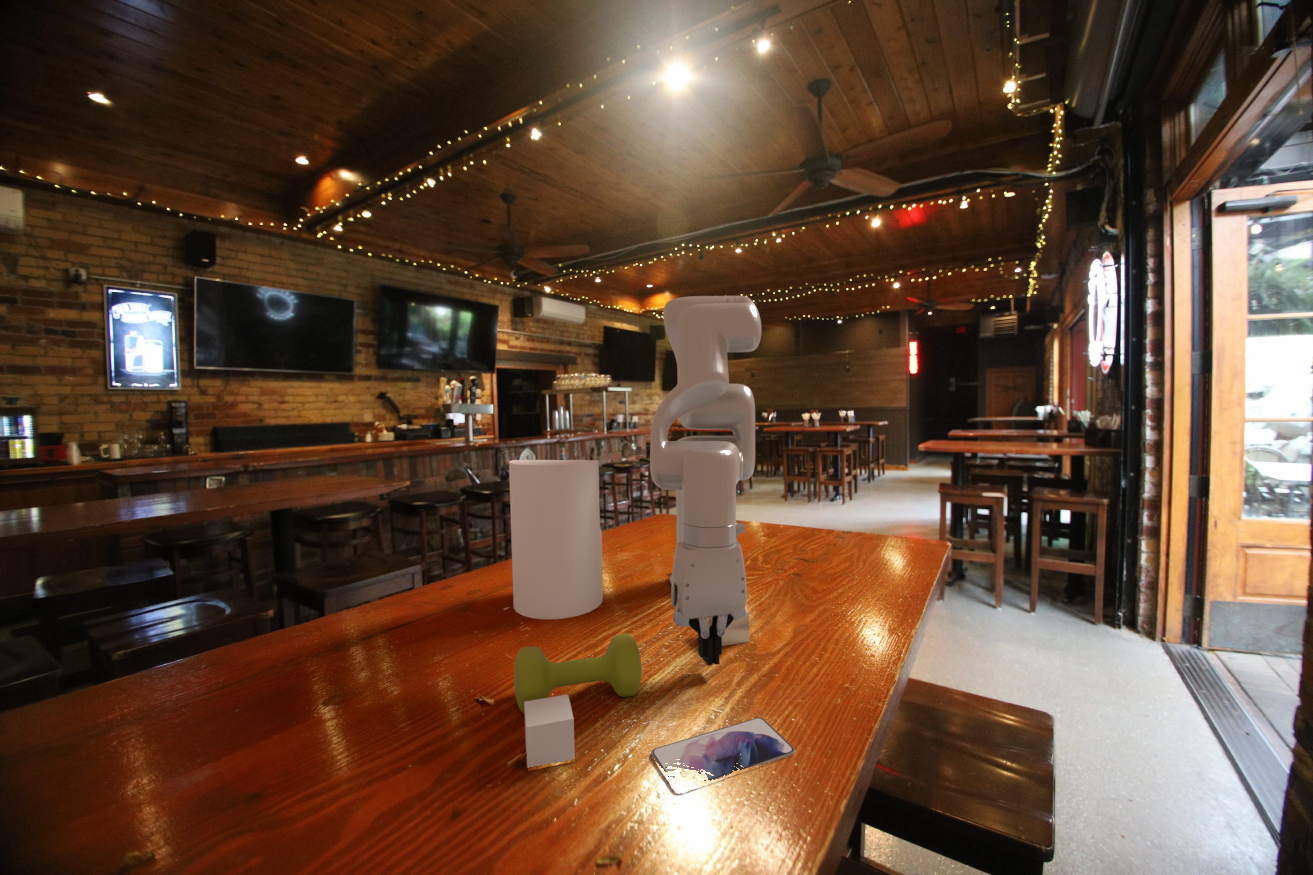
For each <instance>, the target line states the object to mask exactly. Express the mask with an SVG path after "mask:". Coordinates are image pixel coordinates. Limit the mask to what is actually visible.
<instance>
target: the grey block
mask: <svg viewBox="0 0 1313 875" xmlns="http://www.w3.org/2000/svg"><path fill="white" fill-rule="evenodd" d="M572 709H573V708H572V705H571V701H570V696H569V694H567V693H566V694H561V695H557V696H549V697H547V698H543V699H537V700H531V701H525V702H524V710H525V713H524V735H525V736H524V738H525V755H526V754H527V756H526V769H527V768H529V767H534V766H540V765H546V764H551V763H558V762H563V761H569V760H572V759H575V760H576V757H575V754H576V752H575V725H574V724H575V721H574V720H575V718H574V715H573V710H572Z"/></svg>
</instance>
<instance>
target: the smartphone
mask: <svg viewBox="0 0 1313 875" xmlns="http://www.w3.org/2000/svg"><path fill="white" fill-rule="evenodd" d="M740 754H741V755H740ZM792 754H795V755H796V749H795V747H794V746H793V745H792V744H790V742H788V740H786V739H785V738H784V737H783V735H781V734H780V733H779V732H778V731H777V730H776V729H775V728H774V727H773V726H771V724H770V723H768V721H767V720H766V719H764V718H763V717H755V718H752V719H748V720H745V721H742V722H738V723H734V724H731V725H728V726H725V727H721V728H718V729H716V730H715V729H714V730H711V731H708V732H705V733H702V734H698V735H694V736H692V737H688V738H685V739H682V740H677V741H674V742H672V743H668V744H664V745H661V746H659V747H655V748H653V749H652V750H651V752H650V756H651V755H652V757H653V758H654V759H655V761H656V762H657V763H658V764H659V766H661V768H663V769H664V771H665V772H668V771H674V770H676V769H666V768H667V767H668V766H672V767H677V768H678V767H679V768H684V769H689V770H696V771H699V772H698V773H699V774H701V772H703V771H701V772H700V770H701V769H703V770H705V771H706V772H710V773H711V774H713V775H714V776H711V775H709V774H707V773H705V774H706V775H707V777H708V780H710V781H711V780H712V779H713V780H715V779H719V778H721V777H722V778H723V776H724V775H725V776H727V775H729V774H731V773H732V772H733V771H732V770H734V771H737V770H738V769H737V768H739V769H740V770H742V769H746V768H750V767H753V766H758V765H759V766H760V765H764V764H768V763H769V762H774V761H777V760H779V759H783V758H785V759H787V758H786V757H788V758H790V757H789V756H790V755H792ZM652 757H651V758H652ZM741 758H742V759H741ZM676 759H680V760H676ZM783 760H784V759H783ZM677 762H679V763H681V764H680V765H677V764H673V763H677ZM777 762H778V761H777ZM665 763H668V764H665ZM683 763H684V764H683ZM736 763H738V764H736ZM774 763H775V762H774ZM683 765H685V766H683ZM686 765H687V766H689V767H687V766H686ZM740 765H742V766H743V767H744V768H743V767H741V766H740ZM768 765H769V764H768ZM734 766H735V767H734ZM691 767H694V768H691ZM736 767H737V768H736ZM698 769H699V770H698ZM680 773H681V772H680ZM668 777H669V776H668ZM670 777H673V778H675V776H670ZM704 781H706V780H704Z"/></svg>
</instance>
